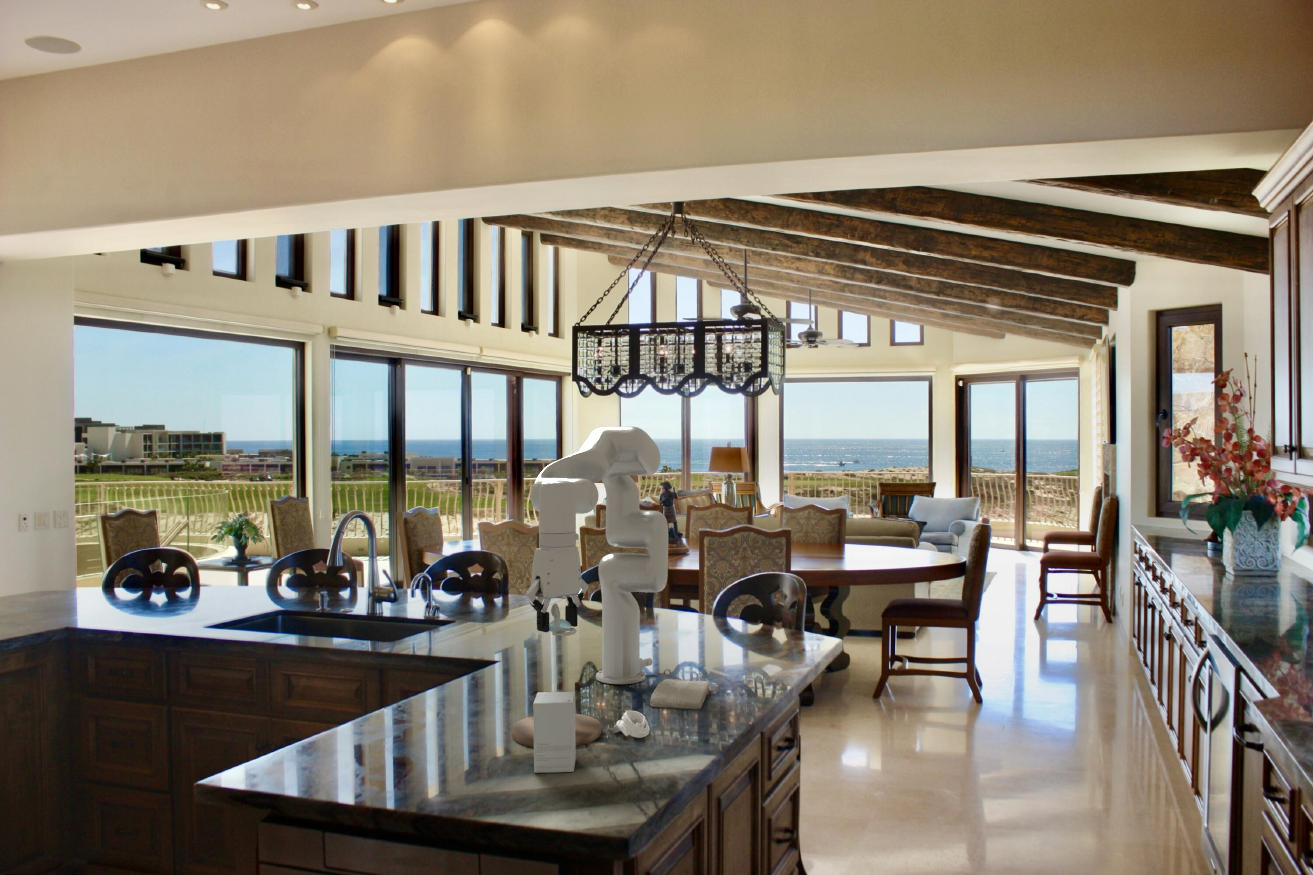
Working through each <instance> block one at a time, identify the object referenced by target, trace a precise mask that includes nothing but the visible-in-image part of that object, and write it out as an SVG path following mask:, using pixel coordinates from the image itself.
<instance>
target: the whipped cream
mask: <svg viewBox="0 0 1313 875" xmlns="http://www.w3.org/2000/svg"><path fill="white" fill-rule="evenodd" d="M619 732H622V734H623V735H624V736H625V737H628V736H631V737H634V738H637V739H641V738H644V737H647V736H648V735H649V734H650V726H649V724H648V721H647V719H646V716H645V715H644V714H642V713H641V712H639V711H637V710H626V711H625V712H624V713H623V714H622V717H621V719H619V720H617V721H616V724H615V725H614V726H613V728H612V733H619Z"/></svg>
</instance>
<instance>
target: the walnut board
mask: <svg viewBox="0 0 1313 875" xmlns="http://www.w3.org/2000/svg"><path fill="white" fill-rule="evenodd" d="M511 728H512V729H511V737H512V739H513V740H514V741H515V742H516V743H517V744H520V745H523V746H526V747H531V748H534V716H533V715H532V716H528V717H524V718H523V719H520V720H517V721H516V722H515V723H514V724H513V725H512V727H511ZM601 735H602V723H601V721H599V720H598V719H597V718H595V717H593V716H592V717H591V716H589V715H585V714H581V713H575V745H576V747H579V746H583V745H587V744H590V743H593V742H594V741H596V740H597V739H598V738H600V736H601Z"/></svg>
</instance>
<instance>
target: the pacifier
mask: <svg viewBox="0 0 1313 875" xmlns="http://www.w3.org/2000/svg"><path fill="white" fill-rule="evenodd" d="M550 613H551V615H552V617H553V618H554V619H553V620H552V621H551V622H549V632H551V634H552V636H560V637H567V636H573V635H575V634H577V629H575V627H572V626H571V624H570V623H569V622H568V621H566V620H565V618H564V619H563V618H561V610H560V608H559V605H558V603H556V602H555V603H553V604H552V605H551V608H550Z"/></svg>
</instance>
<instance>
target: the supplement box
mask: <svg viewBox="0 0 1313 875" xmlns="http://www.w3.org/2000/svg"><path fill="white" fill-rule="evenodd" d="M532 708H533V710H532V711H533V712H532V713H533V715H532V716H534V747H533V770H534V773H535V774H539V773H574V770H575V765H576V759H577V756H576V755H577V754H576V753H577V749H576V748H577V746H576V745H575V714H576V692H575V691H550V692H549V691H547V692H544V691H543V692H540V691H539V692H536V695H535V698H534V701H533V702H532Z"/></svg>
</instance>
